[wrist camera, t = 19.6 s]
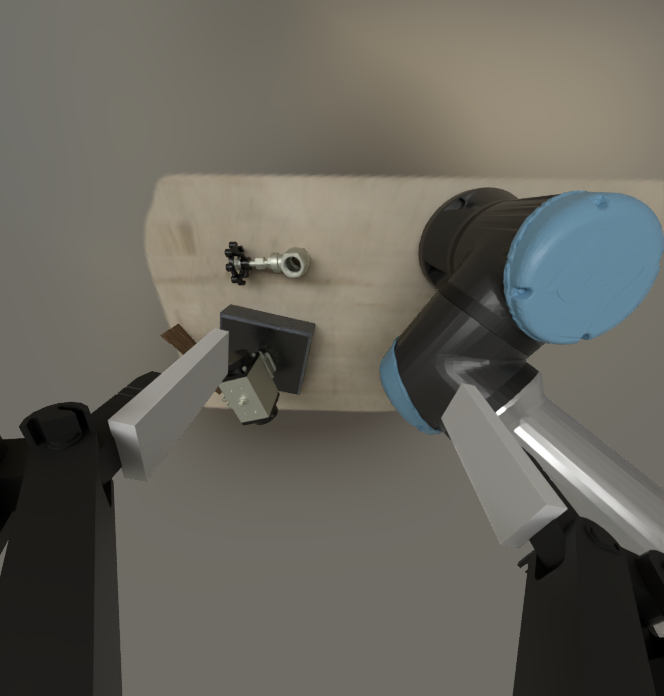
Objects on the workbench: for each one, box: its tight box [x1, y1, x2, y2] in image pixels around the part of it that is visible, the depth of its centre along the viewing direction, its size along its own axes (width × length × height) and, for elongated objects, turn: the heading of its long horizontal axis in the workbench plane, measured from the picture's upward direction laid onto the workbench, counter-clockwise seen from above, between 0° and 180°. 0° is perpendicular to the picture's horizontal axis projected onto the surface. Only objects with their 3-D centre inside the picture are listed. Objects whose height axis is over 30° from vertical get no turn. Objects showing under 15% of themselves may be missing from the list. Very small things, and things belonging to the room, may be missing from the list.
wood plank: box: [161, 324, 222, 395], centre depth 49 cm, size 15×2×5 cm, turn 28°
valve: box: [225, 242, 311, 285], centre depth 39 cm, size 7×7×12 cm
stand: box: [220, 305, 315, 395], centre depth 47 cm, size 16×14×5 cm
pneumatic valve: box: [219, 349, 280, 425], centre depth 40 cm, size 6×12×12 cm, turn 17°
